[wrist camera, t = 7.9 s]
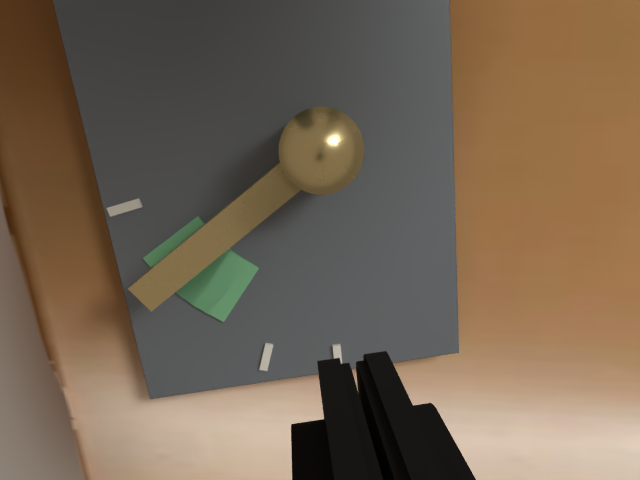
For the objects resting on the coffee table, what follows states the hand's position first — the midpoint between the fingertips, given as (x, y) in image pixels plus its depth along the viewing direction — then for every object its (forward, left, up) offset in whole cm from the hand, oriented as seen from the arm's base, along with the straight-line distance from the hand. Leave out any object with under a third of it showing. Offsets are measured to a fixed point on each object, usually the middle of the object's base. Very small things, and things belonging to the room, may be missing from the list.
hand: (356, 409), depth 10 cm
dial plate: (-4, -1, -16) cm, 17 cm away
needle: (-3, -3, -15) cm, 15 cm away
